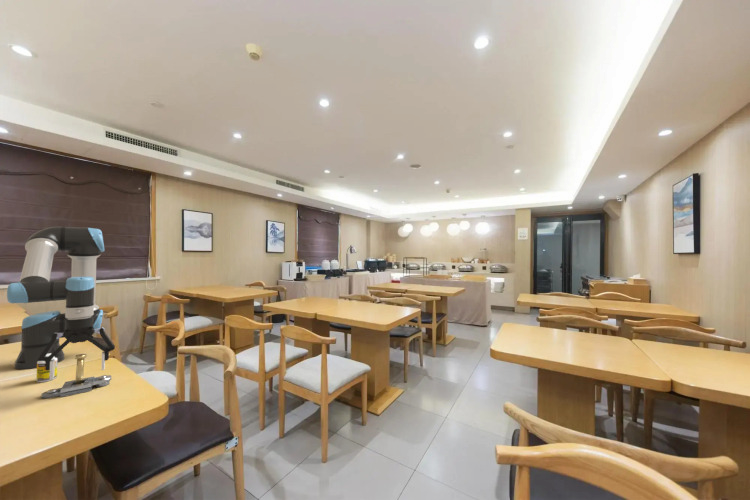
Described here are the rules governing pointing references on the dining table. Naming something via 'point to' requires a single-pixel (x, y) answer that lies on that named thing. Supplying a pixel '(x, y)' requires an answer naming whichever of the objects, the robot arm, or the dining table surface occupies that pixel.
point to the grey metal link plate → (77, 387)
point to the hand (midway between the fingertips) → (78, 373)
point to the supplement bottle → (44, 374)
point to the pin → (80, 368)
